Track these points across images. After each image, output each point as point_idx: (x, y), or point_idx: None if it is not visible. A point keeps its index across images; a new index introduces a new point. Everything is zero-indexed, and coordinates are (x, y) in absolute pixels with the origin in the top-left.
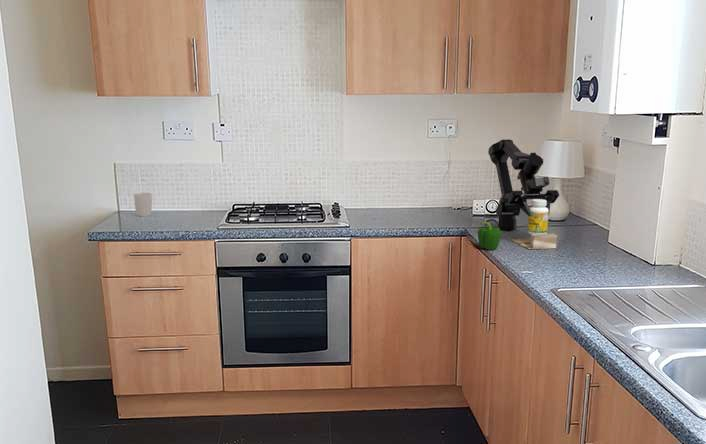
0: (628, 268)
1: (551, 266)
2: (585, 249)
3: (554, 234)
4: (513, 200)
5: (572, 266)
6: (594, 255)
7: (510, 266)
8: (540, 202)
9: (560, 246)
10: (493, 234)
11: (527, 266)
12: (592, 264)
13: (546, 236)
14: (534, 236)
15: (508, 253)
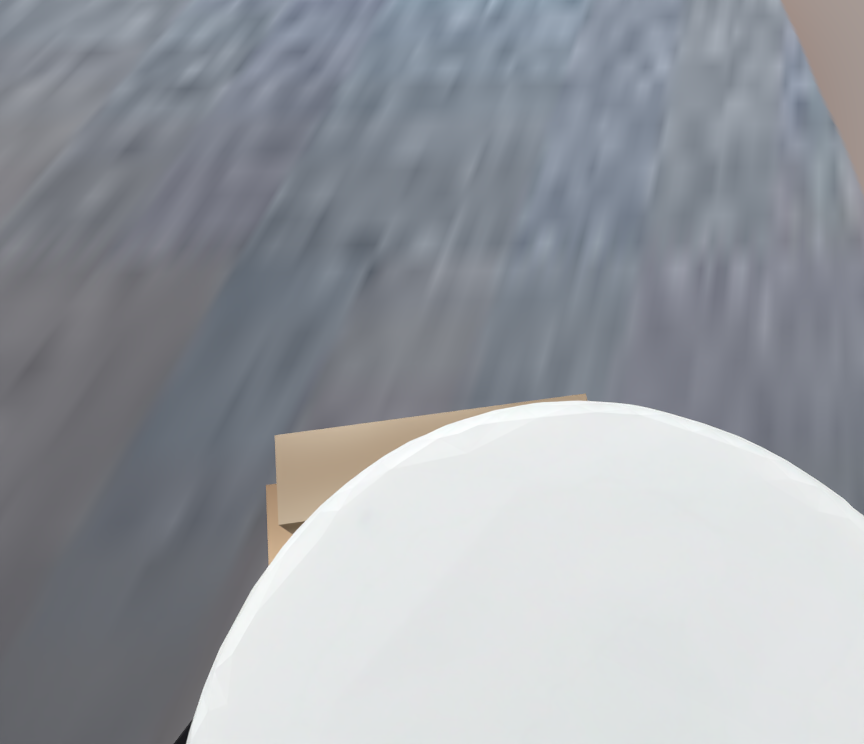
0: (58, 2)
1: (528, 32)
2: (7, 478)
3: (292, 472)
4: None
5: (392, 32)
6: (69, 273)
7: (792, 30)
8: (615, 417)
9: (202, 612)
10: None
11: (683, 31)
12: (236, 68)
13: (420, 419)
14: (578, 398)
15: (798, 324)
